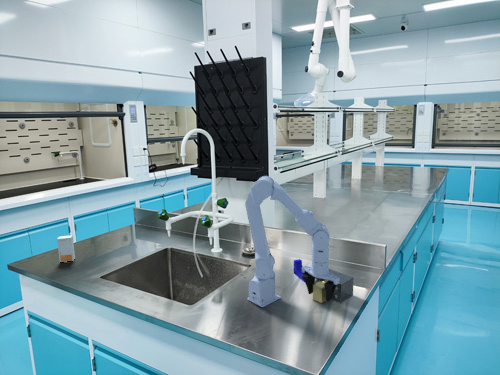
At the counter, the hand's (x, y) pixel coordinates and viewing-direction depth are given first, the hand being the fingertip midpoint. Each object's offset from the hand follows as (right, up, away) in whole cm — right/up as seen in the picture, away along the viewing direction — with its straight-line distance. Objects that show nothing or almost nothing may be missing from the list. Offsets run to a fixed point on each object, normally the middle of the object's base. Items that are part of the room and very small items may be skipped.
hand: (319, 296), depth 122 cm
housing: (+6, -1, +6) cm, 8 cm away
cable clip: (-2, +1, +19) cm, 19 cm away
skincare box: (-111, +3, +43) cm, 119 cm away
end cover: (+3, -1, +3) cm, 4 cm away
